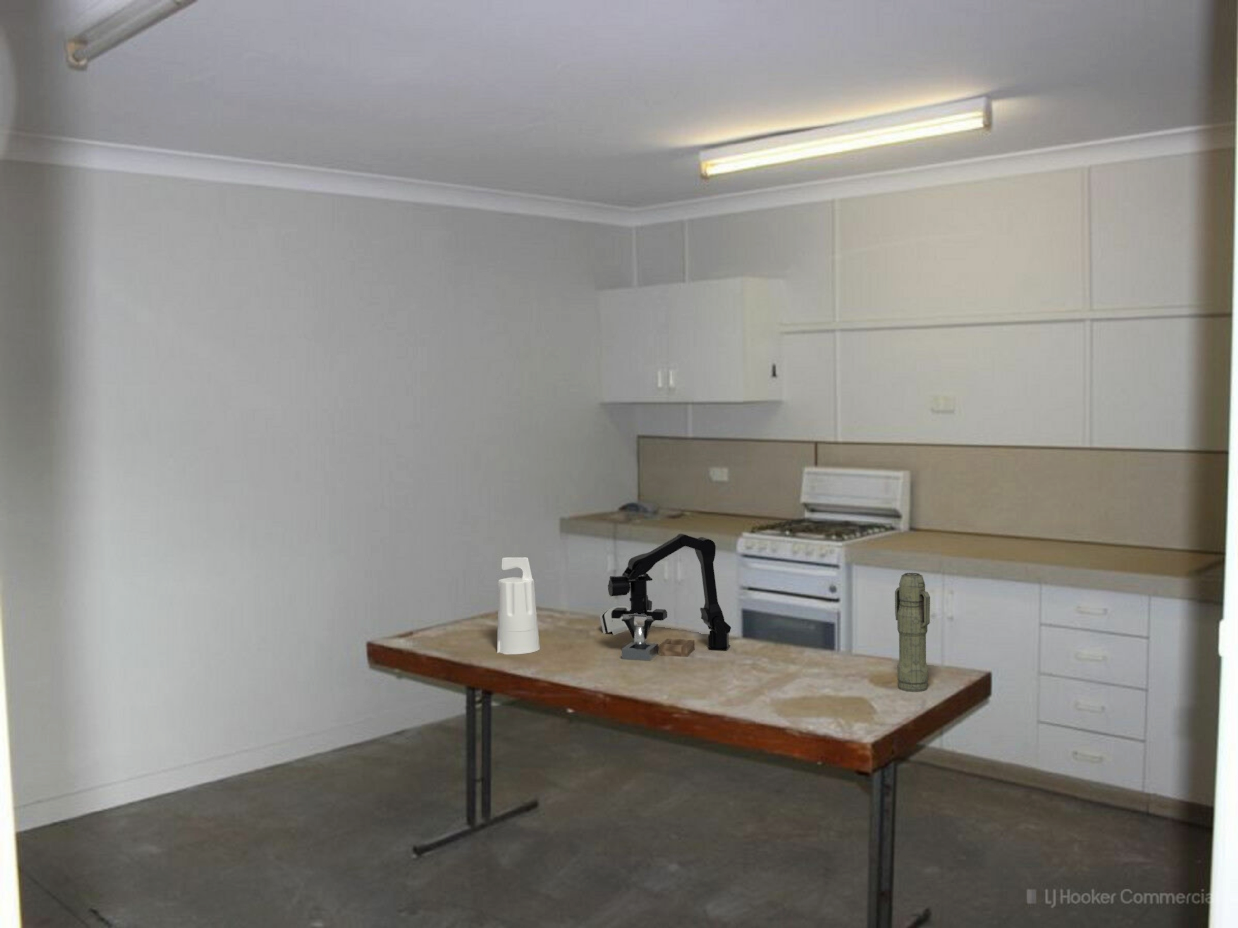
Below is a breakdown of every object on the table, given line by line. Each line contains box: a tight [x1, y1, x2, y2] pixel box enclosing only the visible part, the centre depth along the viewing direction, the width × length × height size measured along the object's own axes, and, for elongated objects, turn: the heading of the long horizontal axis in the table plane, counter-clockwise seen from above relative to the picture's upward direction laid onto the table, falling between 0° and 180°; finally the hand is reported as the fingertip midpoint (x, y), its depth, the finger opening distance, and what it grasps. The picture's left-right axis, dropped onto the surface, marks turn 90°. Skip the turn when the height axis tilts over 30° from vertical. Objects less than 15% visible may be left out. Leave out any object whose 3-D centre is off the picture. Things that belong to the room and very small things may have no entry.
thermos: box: [894, 572, 931, 693], centre depth 340 cm, size 9×12×35 cm
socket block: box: [658, 638, 696, 658], centre depth 392 cm, size 10×10×4 cm
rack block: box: [621, 641, 659, 662], centre depth 388 cm, size 10×10×4 cm
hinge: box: [599, 605, 638, 636], centre depth 430 cm, size 17×5×10 cm, turn 144°
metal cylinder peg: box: [633, 623, 647, 649], centre depth 388 cm, size 4×4×9 cm
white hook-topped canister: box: [496, 556, 541, 656], centre depth 402 cm, size 15×15×33 cm
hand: (639, 638), depth 388 cm, fingers closed on metal cylinder peg, 4 cm apart
